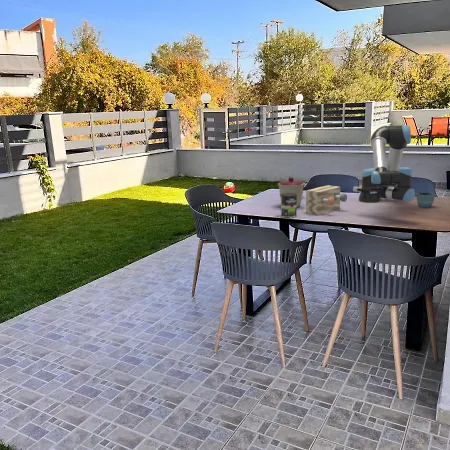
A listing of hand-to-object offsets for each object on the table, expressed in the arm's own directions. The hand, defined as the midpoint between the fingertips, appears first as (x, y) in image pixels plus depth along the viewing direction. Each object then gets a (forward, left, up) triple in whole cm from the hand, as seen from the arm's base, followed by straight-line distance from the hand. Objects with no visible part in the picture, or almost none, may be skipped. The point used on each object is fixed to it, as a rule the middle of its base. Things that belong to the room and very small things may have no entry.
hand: (353, 188), depth 291 cm
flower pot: (-50, -13, -16) cm, 54 cm away
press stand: (+18, -9, -16) cm, 25 cm away
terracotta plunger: (+19, +1, -9) cm, 21 cm away
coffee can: (+42, +4, -16) cm, 45 cm away
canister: (+38, -24, -16) cm, 48 cm away
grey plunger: (+9, -9, -9) cm, 16 cm away
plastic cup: (+30, -53, -16) cm, 63 cm away
